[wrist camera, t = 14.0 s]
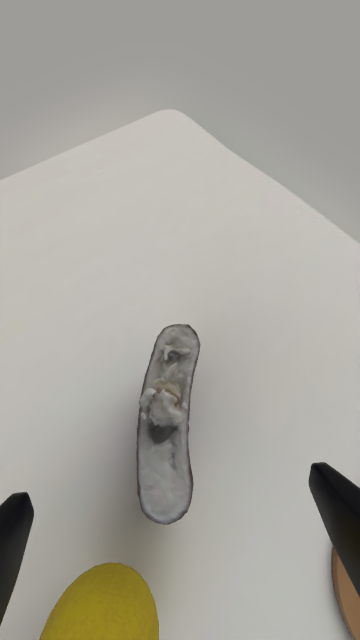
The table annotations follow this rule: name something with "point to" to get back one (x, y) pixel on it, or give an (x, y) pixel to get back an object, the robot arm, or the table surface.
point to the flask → (166, 426)
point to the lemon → (104, 607)
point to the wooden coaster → (346, 597)
